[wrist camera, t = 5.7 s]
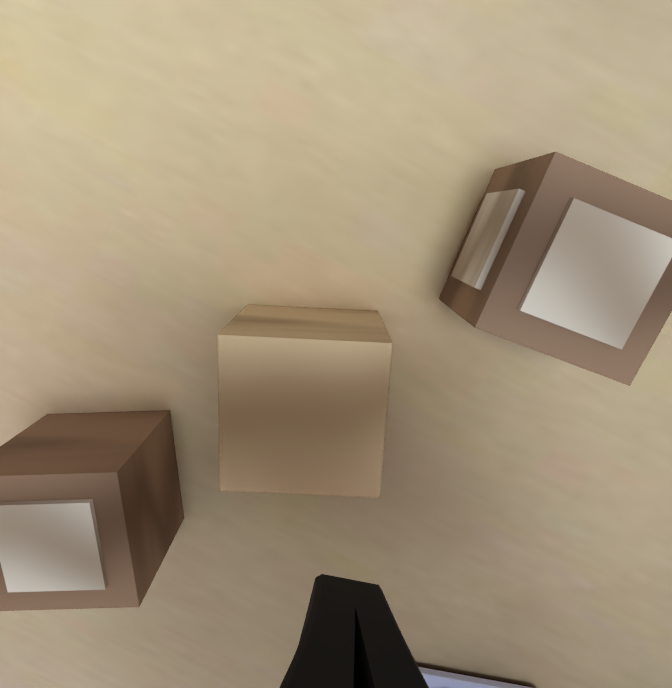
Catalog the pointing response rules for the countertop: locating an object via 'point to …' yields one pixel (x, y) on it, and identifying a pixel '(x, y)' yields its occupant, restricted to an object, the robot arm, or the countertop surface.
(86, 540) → the walnut block
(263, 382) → the oak block
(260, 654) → the countertop surface
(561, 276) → the walnut block
